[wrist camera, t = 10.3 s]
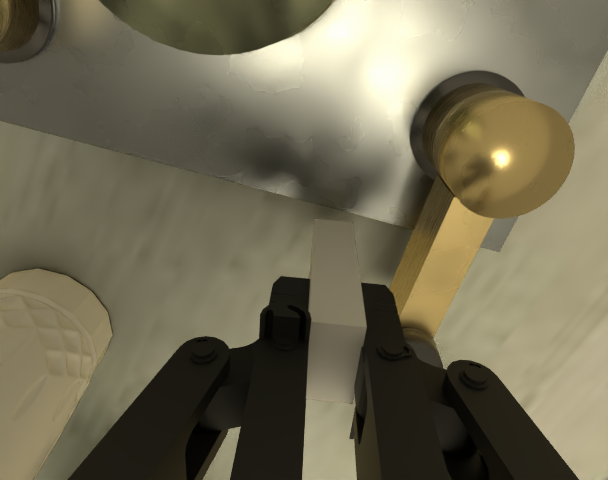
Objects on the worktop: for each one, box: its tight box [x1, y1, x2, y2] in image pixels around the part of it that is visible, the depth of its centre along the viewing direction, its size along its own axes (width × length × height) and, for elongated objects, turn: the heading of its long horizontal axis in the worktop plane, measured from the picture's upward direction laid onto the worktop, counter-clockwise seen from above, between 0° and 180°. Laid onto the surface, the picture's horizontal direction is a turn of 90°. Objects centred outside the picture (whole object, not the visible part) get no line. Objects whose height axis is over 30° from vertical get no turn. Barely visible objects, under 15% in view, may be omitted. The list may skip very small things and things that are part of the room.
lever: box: [389, 83, 575, 369], centre depth 16 cm, size 4×11×4 cm, turn 165°
